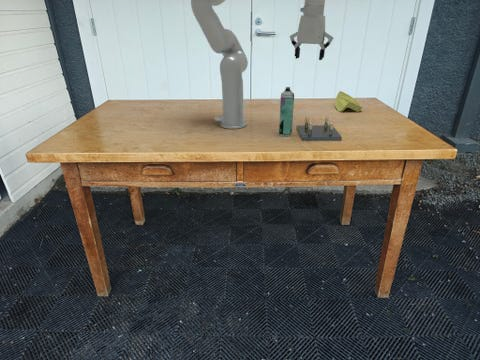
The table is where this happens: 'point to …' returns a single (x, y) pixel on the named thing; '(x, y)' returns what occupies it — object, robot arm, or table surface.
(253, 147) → the table surface
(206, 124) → the table surface
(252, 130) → the table surface
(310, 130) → the post plate
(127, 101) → the table surface
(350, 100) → the plastic component
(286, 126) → the spray can
